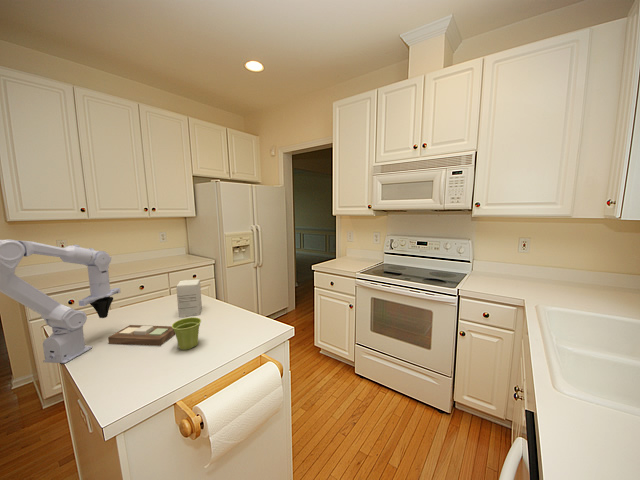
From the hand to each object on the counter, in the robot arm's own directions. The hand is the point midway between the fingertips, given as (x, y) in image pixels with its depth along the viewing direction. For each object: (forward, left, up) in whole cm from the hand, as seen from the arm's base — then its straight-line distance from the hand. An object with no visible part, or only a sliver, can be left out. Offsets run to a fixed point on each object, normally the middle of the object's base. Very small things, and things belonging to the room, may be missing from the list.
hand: (103, 317), depth 98 cm
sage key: (+1, -21, -8) cm, 22 cm away
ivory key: (+1, -15, -7) cm, 17 cm away
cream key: (+1, -9, -8) cm, 12 cm away
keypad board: (+1, -15, -8) cm, 17 cm away
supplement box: (+25, -19, -9) cm, 33 cm away
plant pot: (-3, -35, -9) cm, 36 cm away
